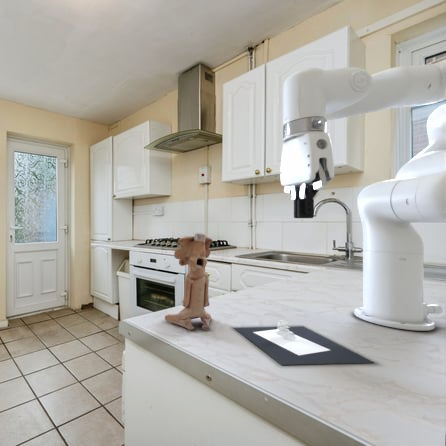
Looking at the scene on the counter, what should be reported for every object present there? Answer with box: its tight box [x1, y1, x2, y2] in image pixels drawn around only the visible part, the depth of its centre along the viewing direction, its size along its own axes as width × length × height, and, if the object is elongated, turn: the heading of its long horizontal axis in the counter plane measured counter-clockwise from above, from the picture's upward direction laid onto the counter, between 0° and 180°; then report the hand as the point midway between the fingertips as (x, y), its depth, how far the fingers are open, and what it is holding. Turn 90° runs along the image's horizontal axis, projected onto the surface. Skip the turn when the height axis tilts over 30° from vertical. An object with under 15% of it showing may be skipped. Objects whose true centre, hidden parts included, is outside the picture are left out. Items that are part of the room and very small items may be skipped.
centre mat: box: [233, 325, 375, 366], centre depth 50 cm, size 15×15×1 cm
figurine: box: [164, 232, 213, 331], centre depth 60 cm, size 11×8×20 cm
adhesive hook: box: [274, 319, 297, 340], centre depth 52 cm, size 3×3×3 cm
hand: (303, 217), depth 59 cm, fingers closed
